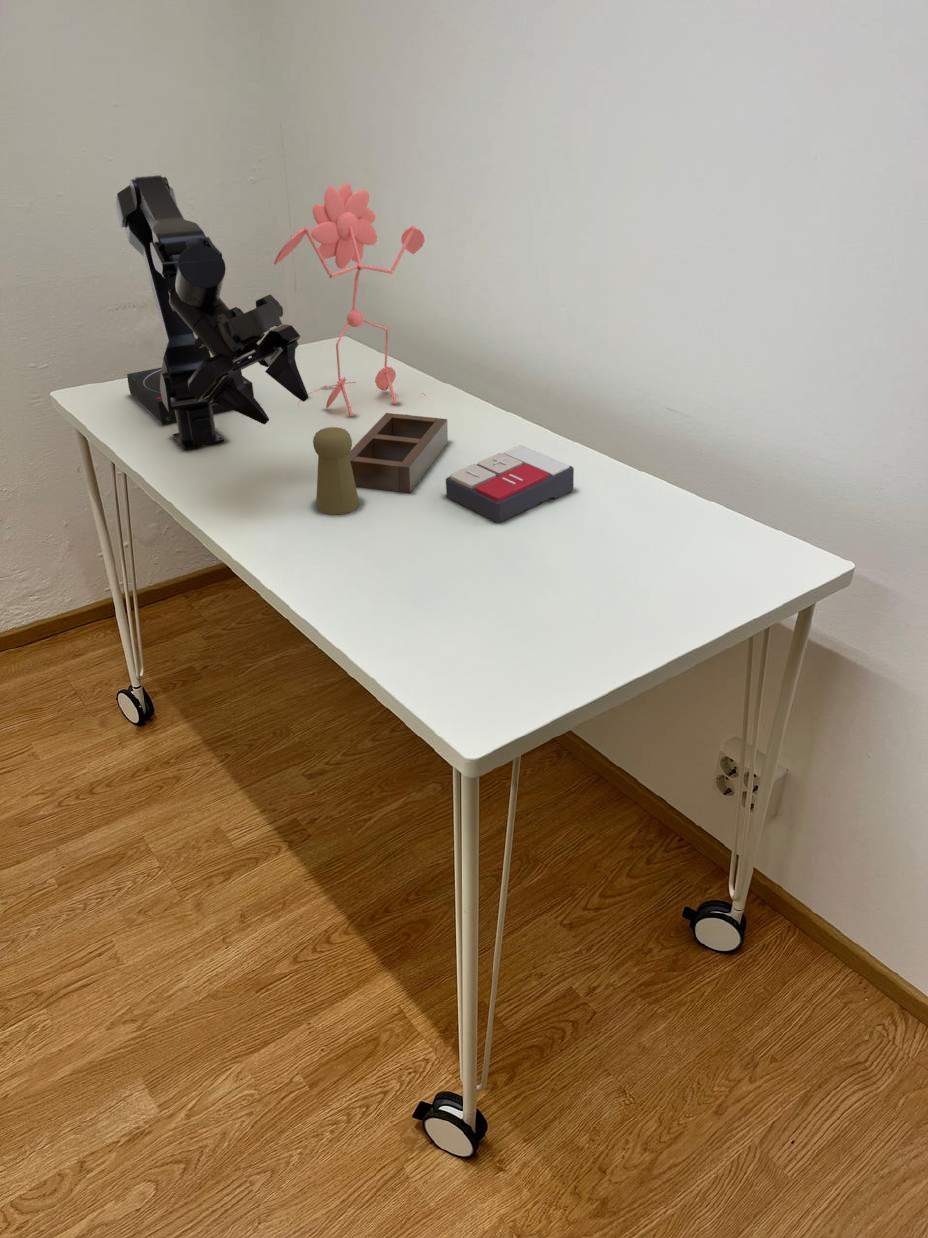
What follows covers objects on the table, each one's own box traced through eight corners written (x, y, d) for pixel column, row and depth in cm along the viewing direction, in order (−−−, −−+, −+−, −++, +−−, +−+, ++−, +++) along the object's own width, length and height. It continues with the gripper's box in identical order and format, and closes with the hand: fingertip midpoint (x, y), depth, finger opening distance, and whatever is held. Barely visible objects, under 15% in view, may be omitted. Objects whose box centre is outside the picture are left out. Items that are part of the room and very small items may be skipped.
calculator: (443, 473, 137) (520, 439, 145) (445, 500, 139) (521, 466, 147) (497, 499, 130) (575, 462, 138) (498, 527, 132) (574, 489, 140)
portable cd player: (218, 377, 181) (215, 355, 179) (255, 404, 169) (252, 382, 167) (130, 394, 174) (125, 372, 172) (162, 425, 162) (157, 402, 160)
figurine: (438, 394, 173) (434, 180, 154) (312, 430, 160) (290, 200, 141) (388, 371, 183) (378, 168, 164) (266, 403, 170) (240, 186, 151)
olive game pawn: (316, 495, 140) (309, 422, 134) (359, 494, 140) (354, 421, 134) (315, 515, 134) (307, 440, 128) (359, 513, 135) (353, 438, 129)
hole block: (343, 485, 143) (341, 459, 140) (387, 436, 158) (386, 412, 155) (410, 493, 140) (409, 467, 138) (447, 442, 155) (447, 418, 153)
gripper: (191, 297, 119) (276, 398, 121) (281, 263, 133) (356, 354, 134) (152, 352, 126) (233, 447, 128) (241, 315, 140) (313, 401, 142)
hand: (287, 410), depth 133 cm, fingers open, 9 cm apart
